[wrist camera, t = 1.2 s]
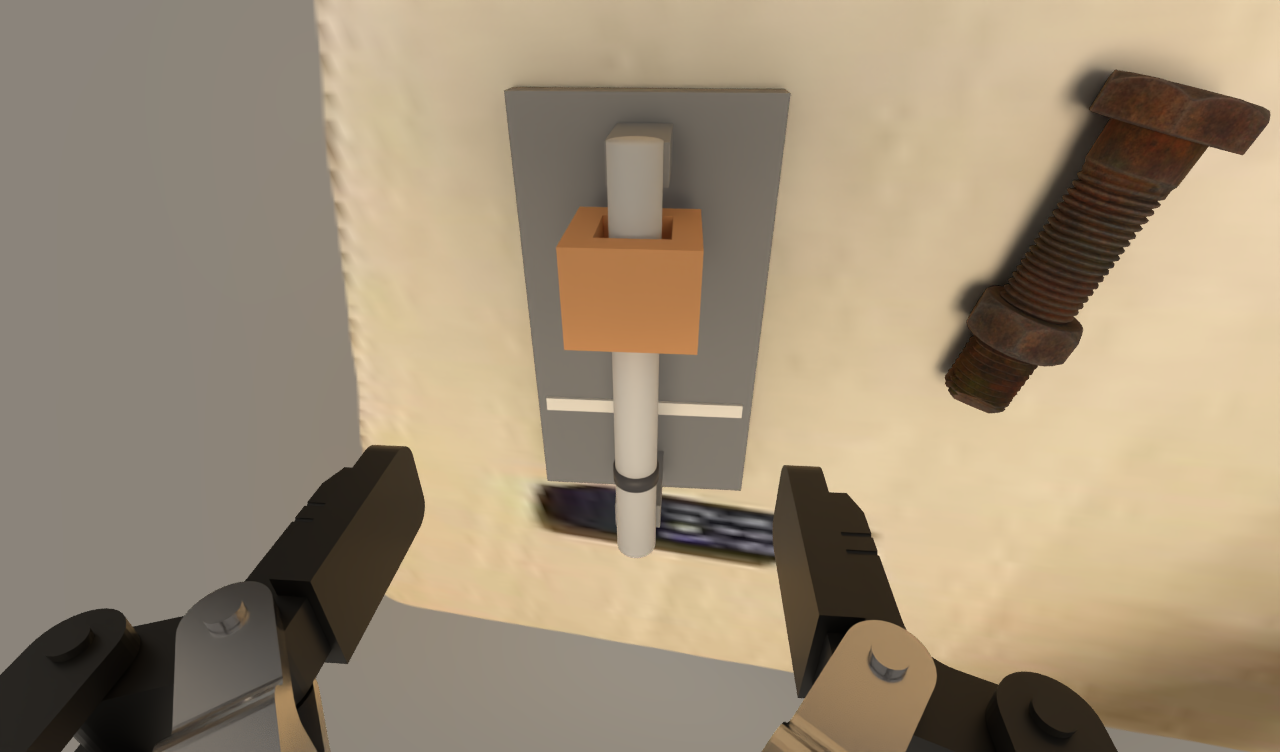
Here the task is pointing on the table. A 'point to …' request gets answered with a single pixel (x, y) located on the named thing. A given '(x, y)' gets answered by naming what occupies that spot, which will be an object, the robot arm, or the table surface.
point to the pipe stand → (635, 194)
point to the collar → (631, 285)
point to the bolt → (1094, 227)
